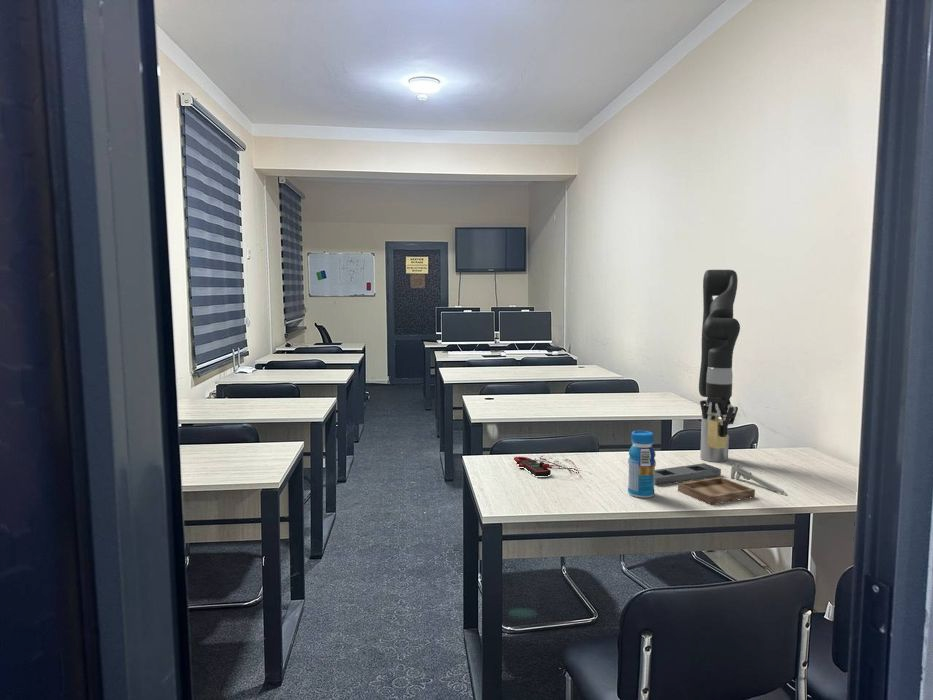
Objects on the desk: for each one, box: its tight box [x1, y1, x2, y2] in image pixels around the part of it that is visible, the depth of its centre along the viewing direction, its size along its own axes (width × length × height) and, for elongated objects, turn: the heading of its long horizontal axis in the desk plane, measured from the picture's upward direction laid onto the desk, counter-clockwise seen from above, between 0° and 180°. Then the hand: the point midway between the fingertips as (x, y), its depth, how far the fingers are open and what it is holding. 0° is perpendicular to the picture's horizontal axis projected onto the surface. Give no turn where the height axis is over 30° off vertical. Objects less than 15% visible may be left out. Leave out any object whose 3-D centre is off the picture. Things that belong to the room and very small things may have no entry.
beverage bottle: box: [627, 430, 657, 499], centre depth 191 cm, size 8×8×20 cm
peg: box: [707, 419, 728, 449], centre depth 190 cm, size 4×4×8 cm
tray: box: [677, 476, 756, 505], centre depth 191 cm, size 18×14×2 cm
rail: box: [654, 462, 722, 487], centre depth 209 cm, size 28×8×2 cm, turn 112°
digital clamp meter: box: [513, 455, 580, 477], centre depth 220 cm, size 23×4×25 cm
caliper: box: [730, 461, 787, 496], centre depth 199 cm, size 20×1×6 cm, turn 28°
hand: (717, 434), depth 190 cm, fingers closed on peg, 4 cm apart
